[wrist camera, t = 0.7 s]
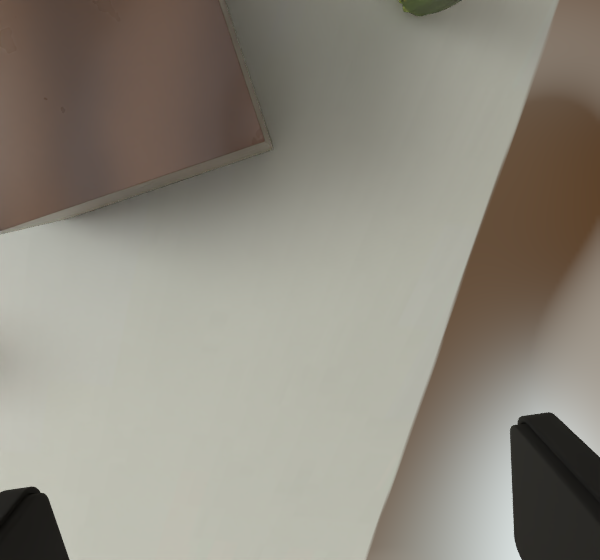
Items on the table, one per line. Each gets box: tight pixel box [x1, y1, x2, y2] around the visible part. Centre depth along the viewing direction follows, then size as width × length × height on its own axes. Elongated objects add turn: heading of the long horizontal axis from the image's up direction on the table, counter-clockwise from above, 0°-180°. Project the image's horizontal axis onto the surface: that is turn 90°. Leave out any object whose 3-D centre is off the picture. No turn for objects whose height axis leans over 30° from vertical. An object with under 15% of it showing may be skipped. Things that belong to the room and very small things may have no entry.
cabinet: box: [0, 0, 273, 234], centre depth 27 cm, size 17×14×11 cm
